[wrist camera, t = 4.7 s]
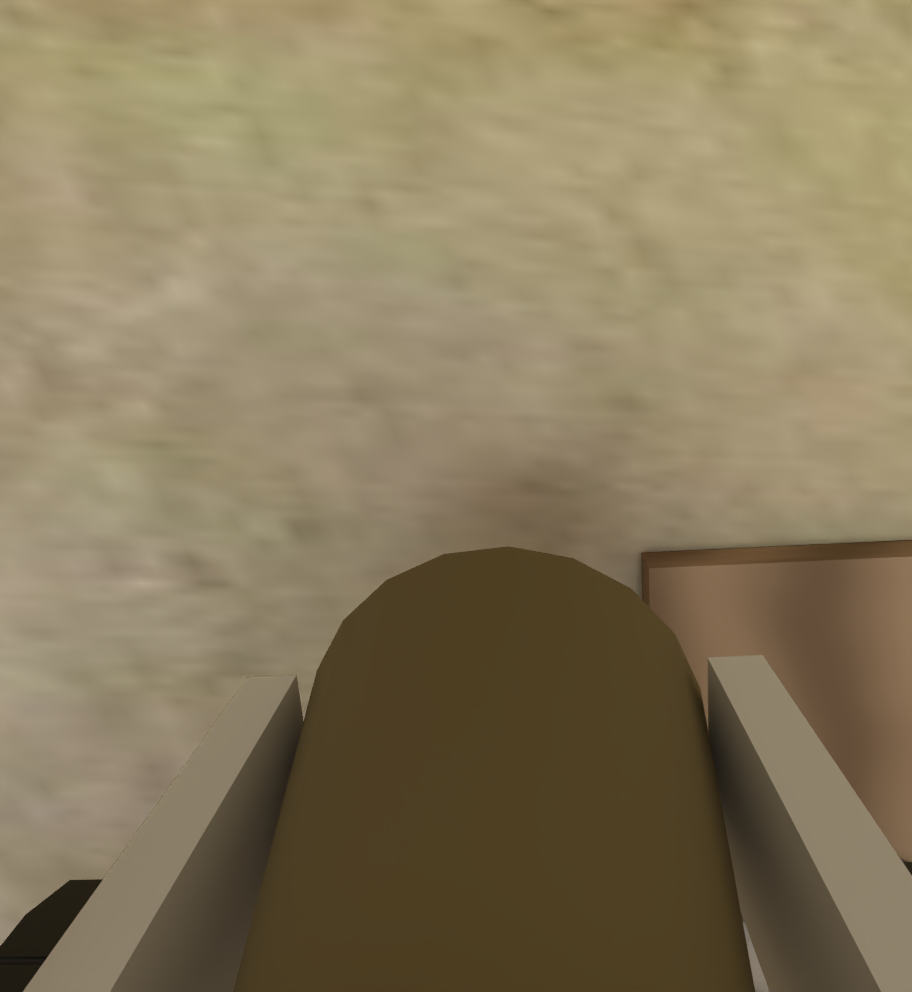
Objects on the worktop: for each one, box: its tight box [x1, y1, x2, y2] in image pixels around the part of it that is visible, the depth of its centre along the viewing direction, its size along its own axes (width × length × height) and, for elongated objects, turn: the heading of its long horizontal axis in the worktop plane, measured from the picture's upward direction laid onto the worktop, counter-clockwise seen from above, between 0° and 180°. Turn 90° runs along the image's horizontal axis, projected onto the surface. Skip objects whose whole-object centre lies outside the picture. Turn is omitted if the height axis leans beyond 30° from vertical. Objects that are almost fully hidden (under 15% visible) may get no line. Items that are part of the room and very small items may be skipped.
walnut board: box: [642, 540, 912, 862], centre depth 28 cm, size 11×22×2 cm, turn 4°
